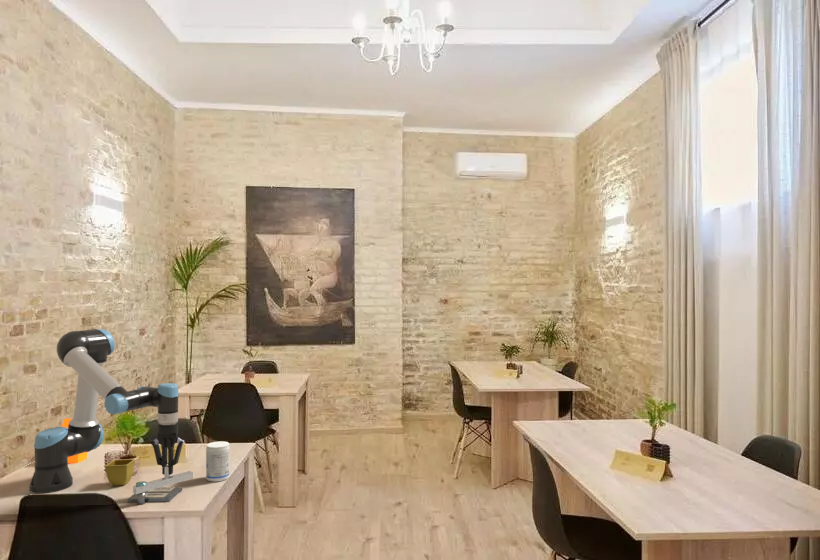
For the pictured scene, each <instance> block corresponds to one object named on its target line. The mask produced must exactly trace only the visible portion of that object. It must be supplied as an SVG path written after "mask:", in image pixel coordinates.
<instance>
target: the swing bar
mask: <svg viewBox="0 0 820 560" xmlns="http://www.w3.org/2000/svg"><path fill="white" fill-rule="evenodd" d="M191 479H194V472H193V470H192V471H191V470H187V471H183V472H180V473H176V474H171V476H168V477H165V476H164V477H162V478H161V477H160V478H157V479H154V480H151V481H148V482H147V481H145V480H144V481H143V480H141V481H138V482H136V483H135V485H133V486H132V493H133V494H139V493H142V492H146V491H149V490H153V489H156V488H160V487H168V486H169V485H174V484H177V483H180V482H184V481H187V480H191Z"/></svg>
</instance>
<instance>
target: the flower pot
mask: <svg viewBox="0 0 820 560" xmlns="http://www.w3.org/2000/svg"><path fill="white" fill-rule="evenodd" d="M135 463H136V459H135V458H133V459H132V458H131V459H130V458H129V459H113V460H112V461H110V462H108V463H107V464H106V465H105V472H106V477H107V480H108V482H109V483H110V485H111V486H112V487H113V486H125V485H127V484H128V483H129V482H130V481H131V479H132V477H133V475H134V472H135V465H136V464H135Z"/></svg>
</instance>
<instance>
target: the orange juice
mask: <svg viewBox="0 0 820 560" xmlns="http://www.w3.org/2000/svg"><path fill="white" fill-rule="evenodd" d="M71 419H72V418H64V419H63V422H62V424H61V427H66V428H67V429H68V424H69V421H70V420H71ZM87 459H88V452H84V453H81V454H77V455H74V456H70V457H68V464H79V463H82V462H83V461H85V460H87Z"/></svg>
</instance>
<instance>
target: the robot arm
mask: <svg viewBox="0 0 820 560" xmlns="http://www.w3.org/2000/svg"><path fill="white" fill-rule="evenodd" d="M115 347H116V343H115V338H114V337H113V335H112V333H111V332H110V331H108V330H106V329H103V328H98V329H97V328H95V329H93V328H92V329H85V330H72V331H69V332H67V333H65V334H63V335H62V336H61V337H60V338H59V340H58V342H57V345H56V354H57V357H58V358H59V360H60V361H61V363H63V364H64V365H65V366H66V367H68V368H70V367H71V368H72V369H73V370H74V371H75V372H76V373H77V374H78V376H77V377H78V378H77V386H76V393H75V401H74V410H73V417H72V418H70V419H71V420H70V421H69V424H68V429H67V428H66V427H62V426H56V427H51V428H46V429H44V430H42V431H40V432H38V433H37V434H36V435H35V438H34V444H33V446H34V471H33V475H32V478H31V480H30V484H29V492H31V491H32V492H31V493H33V492H34V494H45V493H54V492H58V491H62V490H65V489H67V488H69V487H71V486H72V485H73V482H74V481H73V480H74V479H73V476H72V474H71V470H70V468H69V463H68V457H70V456H74V455H77V454H81V453H84V452H87V453H89V452H91V451H93V450H96V449H98V448H99V447H100V446H101V445H102V443H103V440H104V436H105V431H104V430H103V425H102V424H101V423H100V420H98V419H97V411H98V403H99V396H100V397H102V398H103V400H104V408H105V410H106V412H108V413H109V414H110V415H118V414H122V413H127V412H130V411H134V410H139V409H144V408H147V407H155V408H157V423H158V424H157V436H156V438H154V439H153V440H151V441H150V444H151V446H152V448H153V451H154V457H155V460H156V463H157V464H156V465H158V466H161V468H162V475H164V478H165V477H168V476H172V475H173V473H174V466H176V465H178V463H179V460H180V456H181V452H182V448H183V445H184V444H185V441H186V440H185V439H181V438H180V435H179V423H178V421H179V394H180V393H179V385H178V384H177V383H175V382H167V383H165V382H163V383H160V384H159V385H158V386H157V387H153V386H147V385H146V386H139V387H138V388H136V389H134V390H126V388H124V387H123V386H122V385H121V384H120V383H119V382H118V381H117V380H116V379H114V377H113V376H111V374H110V373H108V372H107V370H105V369H104V368H103V365H104V364H106V362H107V360H108V356H110V355H112V354H113V352H114V351H115ZM159 444H160V445H159ZM175 444H177V445H176V447H175ZM160 446H161V447H160ZM175 448H176V450H175ZM174 450H175V451H174ZM174 452H175V453H174Z"/></svg>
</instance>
